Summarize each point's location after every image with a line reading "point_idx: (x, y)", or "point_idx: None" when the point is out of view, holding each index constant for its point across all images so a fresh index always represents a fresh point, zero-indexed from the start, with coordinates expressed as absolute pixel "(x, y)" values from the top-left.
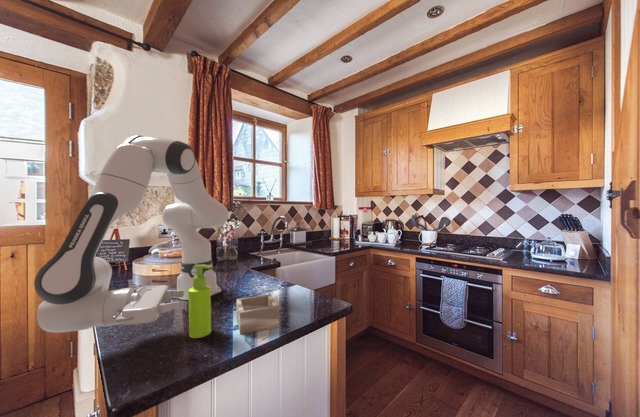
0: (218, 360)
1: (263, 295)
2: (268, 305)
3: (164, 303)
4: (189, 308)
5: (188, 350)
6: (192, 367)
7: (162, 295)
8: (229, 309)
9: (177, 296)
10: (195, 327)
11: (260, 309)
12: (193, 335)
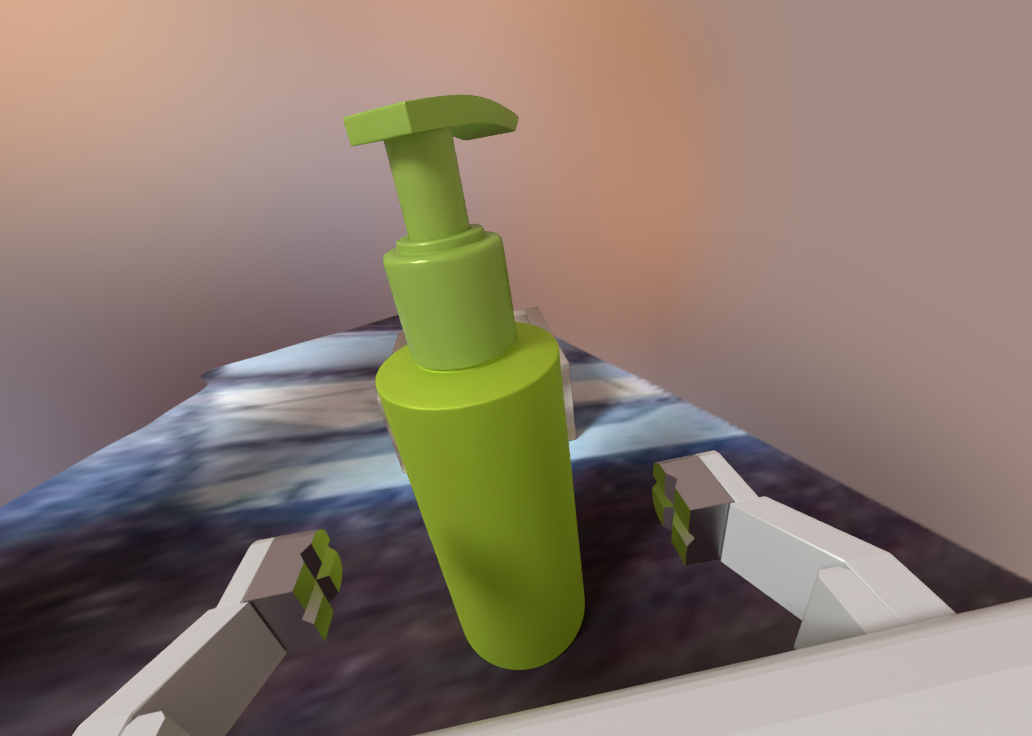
0: (784, 466)
1: (398, 342)
2: None
3: (831, 567)
4: (540, 518)
5: (730, 610)
6: (880, 542)
7: (531, 711)
8: (272, 518)
9: (320, 623)
10: (580, 566)
11: (548, 330)
12: (580, 613)
